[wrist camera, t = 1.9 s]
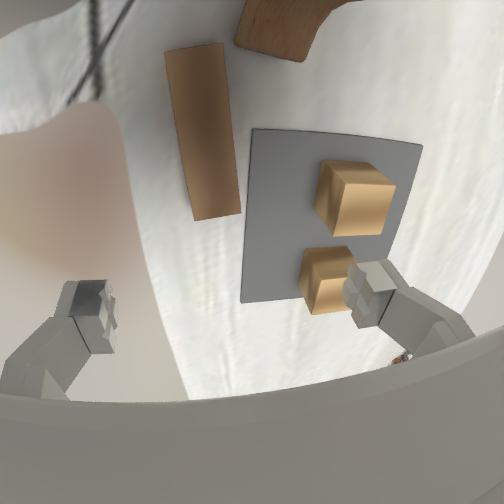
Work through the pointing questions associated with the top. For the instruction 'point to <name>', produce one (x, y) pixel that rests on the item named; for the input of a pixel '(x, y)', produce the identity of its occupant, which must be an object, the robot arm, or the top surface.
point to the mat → (310, 204)
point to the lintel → (204, 129)
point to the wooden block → (283, 26)
